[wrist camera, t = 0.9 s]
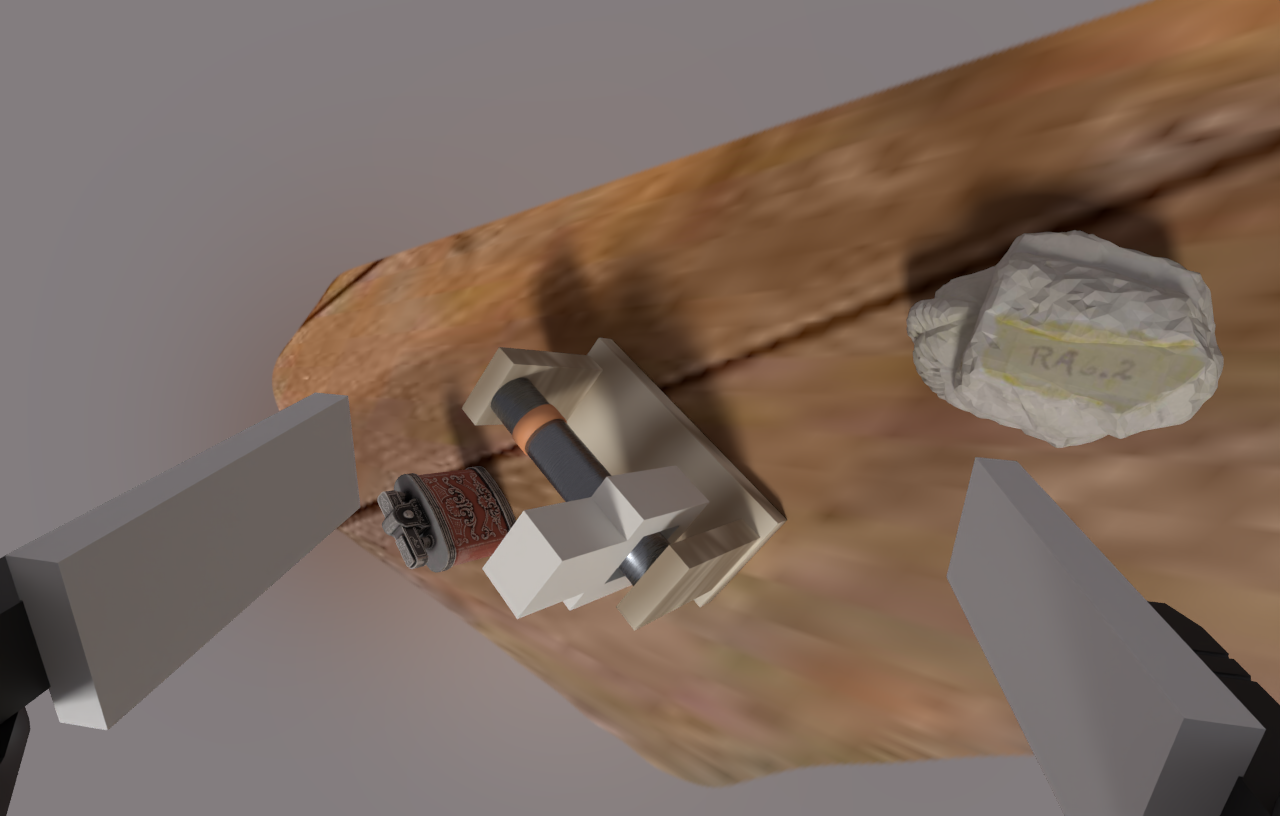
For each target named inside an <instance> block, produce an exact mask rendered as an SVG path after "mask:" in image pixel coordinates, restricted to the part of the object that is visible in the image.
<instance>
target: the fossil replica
mask: <svg viewBox="0 0 1280 816" xmlns="http://www.w3.org/2000/svg"><path fill="white" fill-rule="evenodd" d="M1215 326H1216V325H1215V323H1214V317H1213V309H1212V301H1211V292H1210V290H1209V288H1208V287H1207V286H1206V284H1205V283H1204V281H1203V280H1202V277H1201V275H1200V273H1198V272H1193V271H1189V270H1187V269H1185V268H1184V267H1183V266H1181V265H1180V264H1179V263H1177V262H1175V261H1172V260H1170V259H1168V258H1161V257H1153V256H1150V255H1148V254H1146V253H1143V252H1140V251H1137V250H1132V249H1126V248H1121V247H1118V246H1117V245H1115V244H1113V243H1111V242H1110V241H1107V240H1104V239H1101V238H1098V237H1097V236H1095V235H1094V234H1087V233H1085V232H1083V231H1081V230H1080V231H1076V230H1073V231H1069V232H1061V233H1055V232H1042V233H1024V234H1022V235H1021V236H1018V237H1017V238H1016V239H1015V240H1014V242H1013V243H1012V245H1011V247H1010V248H1009V250H1008V252H1007V253H1006V254H1005V255H1004V257H1003V258H1002V259H1001V260H1000V262H999V263H998V264H997V265H996V266H993V267H990V268H988V269H986V270H983V271H979V272H977V273H974V274H970V275H966V276H961V277H958V278H955V279H952V280H950V282H948V283H947V284H945V285H943V286H942V287H941V288H940V289H939V290H937V291H936V293H935V298H934V299H928V300H921V301H919V302H917V303H915V304H914V305H913V306H912V307H911V308H910V311H909V315H908V318H907V333H908V336H910V337H911V338H912V341H913V342H914V344H915V345H914V351H913V359H914V364H915V365H916V370H917V372H918V374H919V375H920V376H921V377H922V380H923V381H924V383H925V384H926V385H928V386H929V387H930V389H931V390H932V391H933V392H935V393H937V395H938V397H939V398H942V399H944V400H946V401H947V402H948V403H950V404H952V405H953V406H955V407H957V408H959V409H961V410H964V411H969V412H971V413H972V414H974V415H975V416H977V417H979V418H986V419H991V420H993V421H996V422H998V424H1000V425H1004V426H1008V427H1013V428H1018V429H1021V430H1022V431H1023V432H1024V433H1025V434H1027V435H1030V436H1033V437H1035V438H1038V439H1041V440H1044V441H1047V442H1048V443H1050V444H1051V445H1052V446H1054V447H1056V448H1062V447H1067V446H1071V445H1081V444H1085V443H1089V442H1093V441H1096V440H1098V439H1100V438H1103V437H1105V436H1106V435H1108V434H1109V435H1111V436H1114V437H1116V438H1119V439H1122V438H1125V437H1127V436H1130V435H1132V434H1135V433H1138V432H1141V431H1145V430H1150V429H1156V428H1162V427H1167V426H1173V425H1178V424H1182V423H1184V422H1186V421H1187V420H1189V419H1191V418H1192V417H1193V415H1194V414H1195V413H1196V412H1197V411H1198V410H1199V408H1200V407H1201V406H1202V404H1203V403H1204V402H1205V401H1206V400H1208V399H1209V398H1210V397H1211V396H1212V395H1213V394H1214V392H1215V390H1216V389H1217V387H1218V379H1219V377H1220V375H1221V372H1222V368H1223V356H1222V354H1221V352H1220V350H1219V348H1218V345H1217V342H1216V338H1215V333H1214V331H1215Z"/></svg>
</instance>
